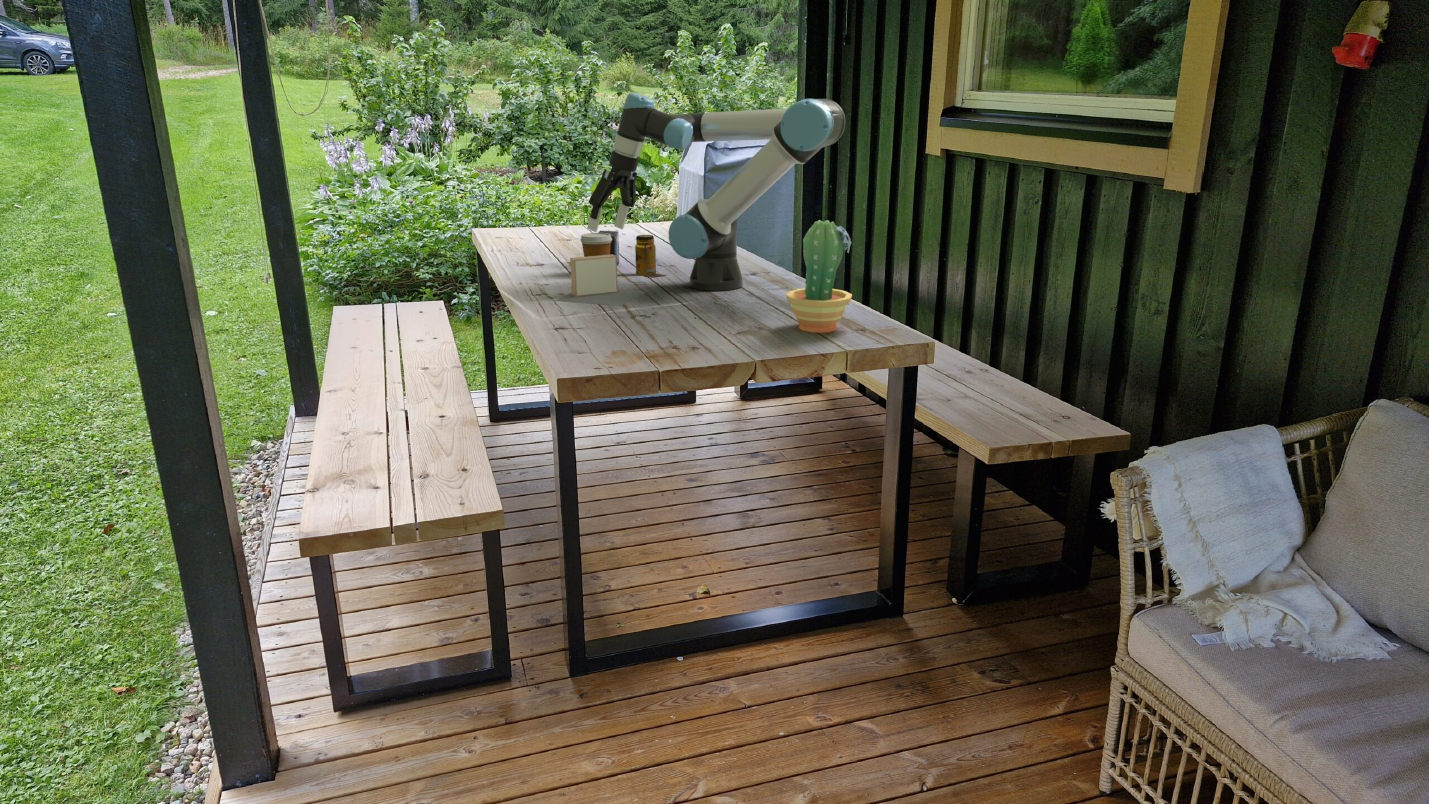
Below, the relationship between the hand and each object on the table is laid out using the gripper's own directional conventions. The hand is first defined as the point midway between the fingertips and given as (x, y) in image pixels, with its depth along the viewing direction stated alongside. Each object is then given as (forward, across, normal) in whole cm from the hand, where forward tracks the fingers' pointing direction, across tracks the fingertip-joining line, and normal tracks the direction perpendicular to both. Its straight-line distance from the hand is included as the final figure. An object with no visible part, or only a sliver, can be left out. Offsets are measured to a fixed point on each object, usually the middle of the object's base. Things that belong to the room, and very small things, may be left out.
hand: (605, 229), depth 254 cm
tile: (+15, +8, +7) cm, 19 cm away
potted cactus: (-3, +15, +71) cm, 72 cm away
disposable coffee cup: (+19, -17, -8) cm, 26 cm away
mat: (+15, +10, +10) cm, 21 cm away
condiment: (+14, -23, +6) cm, 27 cm away
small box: (+19, -30, -13) cm, 38 cm away
